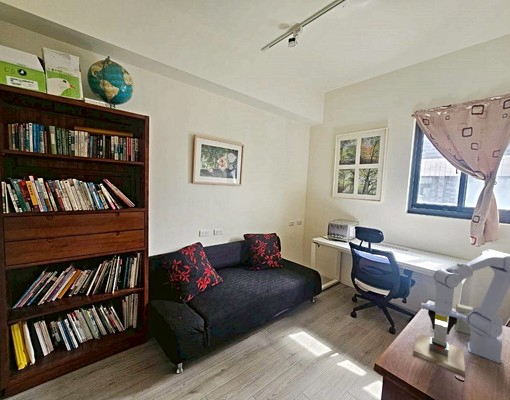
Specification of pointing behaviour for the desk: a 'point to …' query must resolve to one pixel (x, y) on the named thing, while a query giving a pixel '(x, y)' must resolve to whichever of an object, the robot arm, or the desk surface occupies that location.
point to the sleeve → (438, 348)
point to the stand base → (451, 362)
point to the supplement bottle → (441, 317)
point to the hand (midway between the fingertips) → (440, 330)
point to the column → (440, 332)
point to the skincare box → (460, 324)
